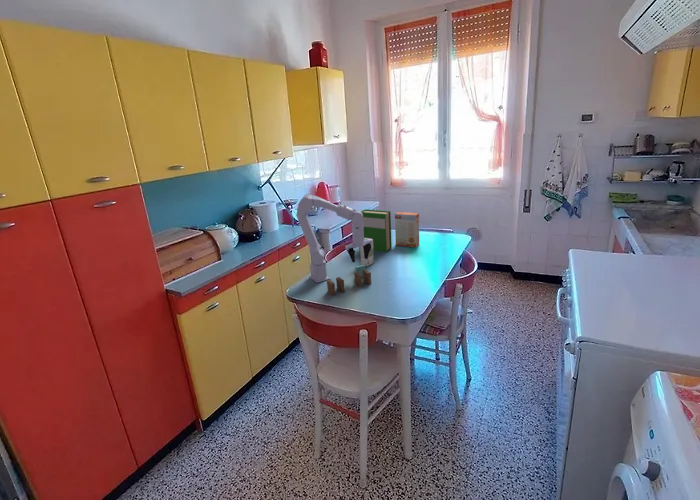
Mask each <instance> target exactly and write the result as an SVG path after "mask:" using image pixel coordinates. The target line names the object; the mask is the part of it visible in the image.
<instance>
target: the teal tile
mask: <svg viewBox="0 0 700 500" xmlns="http://www.w3.org/2000/svg"><path fill="white" fill-rule="evenodd" d="M354 268H355V270H354V273H355V272H358V273H359V274H361V275H362V278H363V270H366V266H365V265H360V264H359V265H356V266H354Z"/></svg>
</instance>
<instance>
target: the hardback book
mask: <svg viewBox="0 0 700 500" xmlns="http://www.w3.org/2000/svg"><path fill="white" fill-rule="evenodd" d="M360 211H361V212H362V214H363V228H364V238H369V239H373V252H378V253H379V252H380V253H387V252H388V250H392V248H393V247H392V244H393V243H392V220H391V219H392V217H391V216H392V215H391V211H390V210H382V209H381V210H379V209H369V208H367V209H366V208H365V209H362V210H360Z"/></svg>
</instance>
